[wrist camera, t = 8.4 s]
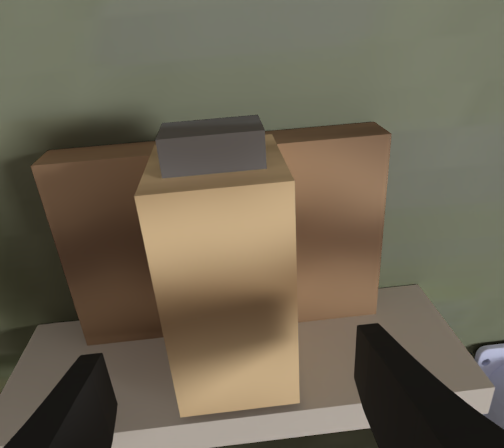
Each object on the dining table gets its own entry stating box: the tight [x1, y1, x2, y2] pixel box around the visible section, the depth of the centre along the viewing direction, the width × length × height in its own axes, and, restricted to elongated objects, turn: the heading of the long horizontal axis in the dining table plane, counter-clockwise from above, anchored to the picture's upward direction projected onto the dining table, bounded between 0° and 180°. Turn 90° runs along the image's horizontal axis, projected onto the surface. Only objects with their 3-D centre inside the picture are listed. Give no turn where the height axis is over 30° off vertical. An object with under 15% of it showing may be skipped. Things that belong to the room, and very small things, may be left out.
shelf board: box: [0, 284, 495, 448], centre depth 20 cm, size 2×20×7 cm, turn 94°
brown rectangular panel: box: [31, 122, 391, 346], centre depth 20 cm, size 9×14×2 cm, turn 94°
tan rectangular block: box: [134, 115, 300, 418], centre depth 16 cm, size 10×4×5 cm, turn 4°
